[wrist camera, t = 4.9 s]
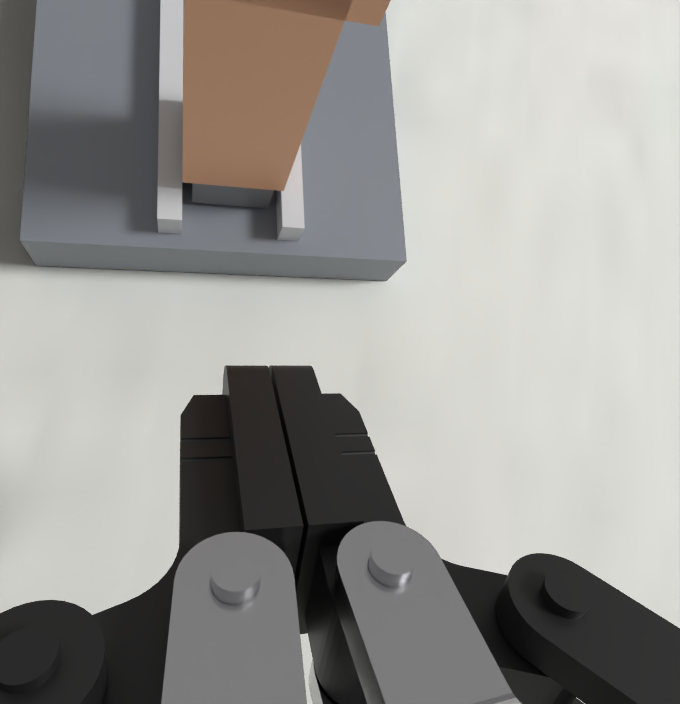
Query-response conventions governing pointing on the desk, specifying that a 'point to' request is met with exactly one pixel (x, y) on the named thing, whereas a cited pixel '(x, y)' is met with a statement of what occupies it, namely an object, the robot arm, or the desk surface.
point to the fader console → (166, 157)
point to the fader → (255, 89)
